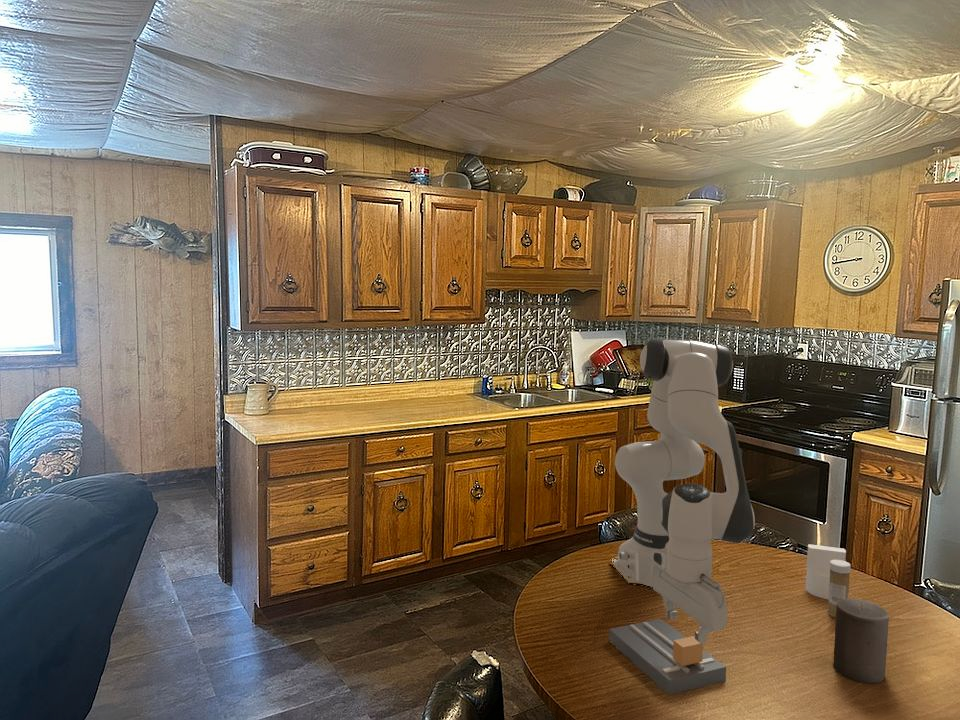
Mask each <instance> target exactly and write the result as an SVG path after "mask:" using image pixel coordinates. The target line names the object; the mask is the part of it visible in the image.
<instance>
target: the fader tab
mask: <svg viewBox="0 0 960 720" xmlns="http://www.w3.org/2000/svg"><path fill="white" fill-rule="evenodd" d="M703 647H704V643H699V642H698V641H697V640H695V635H692V636H686V638H682V639H677V640H674V641H673V659H674V660H675V661H676V662H677V663H679V664H680V665H681V666H689V665H692V664H694V663H698V662H702V657H703V650H704V648H703Z"/></svg>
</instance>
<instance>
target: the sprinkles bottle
mask: <svg viewBox="0 0 960 720" xmlns="http://www.w3.org/2000/svg"><path fill="white" fill-rule="evenodd" d="M851 568H852V566H851V563H850V562H848V561H846V560H845V561H843V560H831V561H830V580H829V599H827V600H828V607H827V608H828V609H827V615H829V616H831V617H833V618H835V619H836V609H837V602H838V601H840V600H842V599H847V598H849V596H850V591H849V590H850V573H851Z"/></svg>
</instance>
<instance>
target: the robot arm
mask: <svg viewBox="0 0 960 720" xmlns="http://www.w3.org/2000/svg"><path fill="white" fill-rule="evenodd" d="M639 365H640V368H641V374H643V376H644V377H645V378H647V379H649V380H652V381H653V383H652V385H651V386H652V387H651V390H650V391H651V393H650V397H649V401H648V402H649V403H648V409H647V415H646V417H647V421H648V423H649V425H650V426H651V427H652V428H653V429H654V430H656V431H657V432H659V433H660V435H659V439H657V440H649V441H635V442H632V443H628V444H624V445H623V446H620V448H619V449H618V450H617V452H616V454H615V457H614V458H615V459H614V466H615V470H616V472H617V474H618V476H619V477H620V478H622V480H623V481H625V482H626V483H627V484H628V485H629V486H630V487H631V489H632V491H633V493H634V495H635V498H636V505H637V509H636V510H637V524H636V525H632V526H631V527H632V528H631V530H633V531H634V532H633V536H632V537H631V538H630V539H629V538H628V539H627V540H626V541H624V542H622V543H621V544H620V545H619V548H618V551H617V553H618V554H617V555H618V556H615V557H613V558H611V559H612V562H613V561H614V563H613V564H614V565H615V566H616V568H617V569H618V570H619V571H620V572H621V573H622V575H623V576H624V577H625V578H626V579H627V580H628V581H630V582H635V583H641V584H644V585H647V586H651V587H650V588H652V587H653V588H652V590H653V591H654V592H656V593H658V594H659V595H660V596H662V602H663V605H664V609H665V618H667V619H668V620H669V621H671V622H672V621H676V620H677V619H678V611H677V610H676V607H677V608H678V609H679V610H680V611H682V612H683V613H685V614H686V615H687V616H689V617H690V618H691V619H693V620H694V621H696V622H697V623H698V627H699V630H697V631H694V637H695V640H697V641H698V642H699V643H703V644H704V643H706V642H707V640H708V635H709V633H710V632H716V631H721V630H724V629H725V628H726V627H727V624H728V610H727V608H728V607H727V597H726V595H725V592H724V591H723V589H722V588H721V584H720V583H719V582H717V581H715V580H713V579H712V565H713V550H712V544H711V543H712V539H714V540H721V541H723V542H729V543H734V544H739V543H742V542H744V541H745V540H747V539H749V537H750V536H752V534H753V533H754V529H755V523H756V522H755V521H756V518H755V512H754V508H753V506H752V503H751V499H750V494H749V490H748V485H747V481H746V476H745V470H744V467H743V460H742V456H741V450H740V444H739V441H738V437H737V434H736V430H735V427H734V425H733V423H732V422H730V421H728V420H726V418H725V417H724V416H723V414H722V412H721V410H720V405H719V388H718V387H720V386H723V385H725V384H726V383H727V382H728V381H729V379H730V378H731V374H732V373H733V368H734V361H733V355H732V353H731V351H730V349H729V347H726V346H724V345H721V344H717V343H714V344H711V343H707V342H702V341H697V340H690V339H688V340H684V339H683V340H682V339H663V338H654V339H653V338H652V339H649V340H648V341H647V342H646V343H645V344H644V345H643V348H642V350H641V352H640V356H639ZM699 443H700V444H702V445H704V446H706V447H707V448H709V449H711V450H713V451H714V452H715V453H716V454H717V455H718V457H719V459H720V461H721V465H722V471H723V477H724V482H725V488H726V491H725V492H713V491H710V490H709V489H708V488H707V487H706V486H703V485H702V484H697V483H689V482H688V483H680V484H679V485H676V486H675V487H673V490H671V491H669V492H666V491H665V490H664V486H663V483H664V481H674V480H675V481H676V480H683V479H688V478H691V477H693V476H694V477H695V476H698V475H700V473H701V472H702V471H703V469H704V466H705V453H704V450H703V449H702V447H701V445H700V444H699ZM614 558H618V560H616V559H614ZM613 559H614V560H613ZM618 566H619V567H618ZM647 586H646V587H647Z"/></svg>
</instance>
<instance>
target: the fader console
mask: <svg viewBox="0 0 960 720" xmlns="http://www.w3.org/2000/svg"><path fill="white" fill-rule="evenodd" d="M682 638H687V636H685V635H684V634H682V633H681V632H679V631H678V630H677V629H676V628H674V627H673V626H671V625H670V624H669V623H667V622H666V621H665V620H663V619H662V618H656V619H652V620H647V621H642V622H636V623H633V624H628V625H627V624H626V625H623V626H618V627H613V628H609V630H608V641H609V640H610V641H611V642H612V643H613V644H614V645H615V646H616V647H617V648H618V649H619V650H620V651H621V652H622V653H623V654H624V655H623V654H622V653H621V652H620V651H619V650H618V649H617V648H616V647H615V648H616V649H617V650H618V651H619V652H620V653H621V654H622V655H623V656H625V655H626V656H627V657H628V658H629V659H630V660H631V661H632V662H633V663H632V662H631V661H630V660H629V659H628V658H627V657H626V656H625V657H626V658H627V659H628V660H629V661H630V662H631V663H632V664H634V666H635V667H637V668H638V669H639V670H640V671H641V670H642V673H643V674H644V675H646V676H647V677H648V676H649V677H648V678H649V679H650V678H651V679H650V680H652V681H653V682H654V683H655V685H657V686H658V687H659V688H660V689H661V690H662V691H664V692H665V693H666V694H667V695H669V696H670V695H675V694H678V693H683V692H686V691H689V690H690V691H691V690H694V689H695V690H696V689H698V688H702V687H706V686H710V685H711V686H712V685H715V684H719V683H723V682H726V681H727V680H726V678H727V666H726V665H724V663H722V662H721V661H719V660H718V659H716V657H714V656H713V655H711V654H709V653H708V652H707V651H706V650H704V649H703V657H702V662H698V663H694V664H692V665H689V666H681V665H680V664H679V663H677V662H676V661H675V660H674V659H673V641H674V640H677V639H682Z"/></svg>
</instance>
